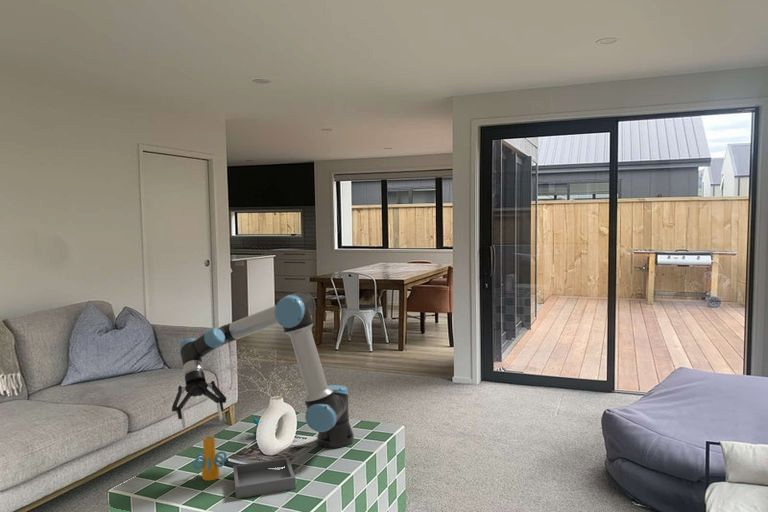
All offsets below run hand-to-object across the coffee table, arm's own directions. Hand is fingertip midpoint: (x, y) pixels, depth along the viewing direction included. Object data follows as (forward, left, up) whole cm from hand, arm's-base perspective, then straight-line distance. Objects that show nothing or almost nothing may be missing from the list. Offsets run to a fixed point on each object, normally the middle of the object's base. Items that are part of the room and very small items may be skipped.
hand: (202, 422), depth 221 cm
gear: (-24, -25, -17) cm, 38 cm away
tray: (-20, +21, -17) cm, 34 cm away
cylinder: (-2, +11, -17) cm, 20 cm away
